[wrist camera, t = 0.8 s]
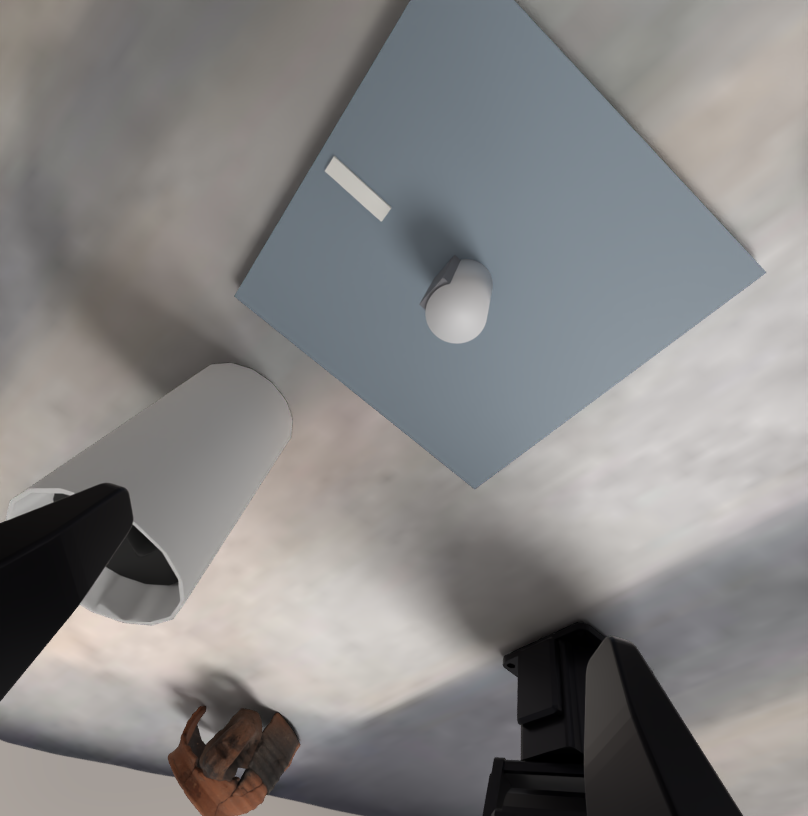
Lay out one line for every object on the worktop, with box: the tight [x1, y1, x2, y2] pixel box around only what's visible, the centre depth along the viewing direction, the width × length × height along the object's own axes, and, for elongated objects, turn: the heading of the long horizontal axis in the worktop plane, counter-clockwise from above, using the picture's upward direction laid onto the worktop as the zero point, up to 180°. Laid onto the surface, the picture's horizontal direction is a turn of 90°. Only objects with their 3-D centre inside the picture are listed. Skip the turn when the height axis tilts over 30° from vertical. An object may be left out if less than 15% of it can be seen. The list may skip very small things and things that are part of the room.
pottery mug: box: [168, 706, 300, 816], centre depth 41 cm, size 12×10×8 cm
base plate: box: [234, 0, 766, 489], centre depth 17 cm, size 14×14×4 cm
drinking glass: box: [6, 363, 293, 626], centre depth 21 cm, size 7×7×10 cm
